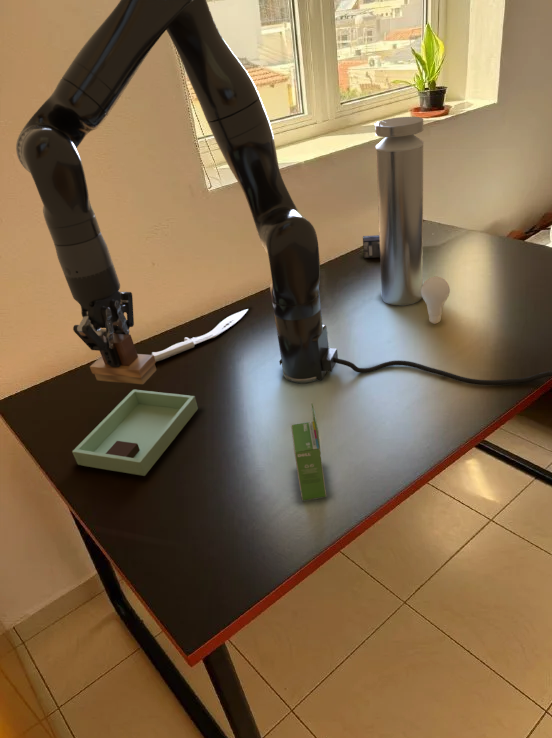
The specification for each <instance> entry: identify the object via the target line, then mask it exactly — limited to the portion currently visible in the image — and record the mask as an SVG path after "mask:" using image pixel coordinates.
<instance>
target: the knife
mask: <svg viewBox="0 0 552 738" xmlns="http://www.w3.org/2000/svg"><path fill="white" fill-rule="evenodd" d="M248 311H249V308H247V309H243V310H241V311H240V310H239V311H238V312H235V313H233V314H231V315H229V316H227V317H226V318H224V319H222V321H219V323H218V324H217V325H216V326H215V327H214V328H213V329H212V330H210V331H209V332H207V333H205V334H203V335H199V336H195V337H194V336H193V337H192V338H189V337H187V336H185V337H184V338H183V341H181V342H177V343H175V344H172V345H171V346H169V347H167V348H165V349H163V350H159V351H152V352H151V355H154V358H155V361H156V363H157V362H160V361H163V360H165V359H168V358H170V357H173V356H175V355H177V354H181V353H183V352H185V351H188V350H191V349H194V348H195V345H197V344H200V343H202V342H206V341H207V340H210V339H214V338H216V337H218V336H219V335H220V334H222V333H223V332H225V331H226V330H228V329H229V328H230V327H232V326H234V325H235V324H236V323H237V322H239V321H240V320H241V319H242V318H243V317H244V316H245V314H247V312H248Z"/></svg>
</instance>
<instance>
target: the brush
mask: <svg viewBox="0 0 552 738" xmlns="http://www.w3.org/2000/svg"><path fill="white" fill-rule="evenodd" d="M103 338H104V341H106V337H105V336H103ZM113 340H114V344H115V346H114V347H116V349H117V352H118V355H119V358H120V360H121V363H122V365H121V366H120V367H111V366H110V365H108V364H107V362H106V359H105V357H104V354H103V351H99V353H100V355H101V356H99V358H97V359H96V361H94V362H93V363H92V364H91V365H89V369H90V372H91V374H92V375H94V378H95V379H96V381H98V382H99V381H101V382H111V383H124V384H135V385H144V384H145V383H146V382H147V381H148V380H149V379H150V378H151V377H152V376H153V374H154V373H156V371H157V370H158V369H157V367H156V363H157V362H156V361H155V358H154V355H152V354H143V353H137V349H136V347H135V346H136V345H135V343H134V340H133V337H132V335H131V334H130V333H129V334H113Z"/></svg>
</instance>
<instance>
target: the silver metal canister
mask: <svg viewBox="0 0 552 738" xmlns="http://www.w3.org/2000/svg"><path fill="white" fill-rule="evenodd" d="M374 126H375V127H374V129H375V136H376V137H379V138H383V139H381V141H379V143H377V144H376V145H375V158H376V159H375V160H376V183H377V184H376V185H377V209H378V211H377V213H378V214H377V215H378V235H379V240H380V257H379V261H380V263H379V264H380V284H381V285H380V290H381V300H382V301H383V302H384V303H386V304H387V305H392V306H399V307H401V306H410V305H413V304H416V303H418V302H420V301H421V300H422V299H423V297H422V294H421V288H422V285H423V284H424V280H423V279H424V278H423V277H424V276H423V275H424V274H423V270H424V268H423V265H424V263H423V262H424V144H425V143H424V142H425V141H424V140H422V139H420V138H419V137H418V136H416V135H417V134H420V133H421V132H423V131H424V118H423V117H419V116H401V117H400V116H399V117H398V116H397V117H392V118H391V117H390V118H385V119H382V120H380V121H377V122H376V123H374Z"/></svg>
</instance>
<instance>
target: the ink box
mask: <svg viewBox="0 0 552 738" xmlns="http://www.w3.org/2000/svg"><path fill="white" fill-rule="evenodd" d="M313 404H314V403H312V402H311V411H312V417H313V418H312V421H307V422H302V423H294V424H291V426H290V427H291V437H292V445H293V453H294V459H295V466H296V473H297V478H298V484H299V491H300V499H301V501H312V500H317V499H323V498H327V491H326V489H327V488H326V483H325V476H324V469H323V468H324V467H323V461H322V450H321V443H320V434H319V426H318V422H317V417H316V413H315V409H314V405H313Z"/></svg>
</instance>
